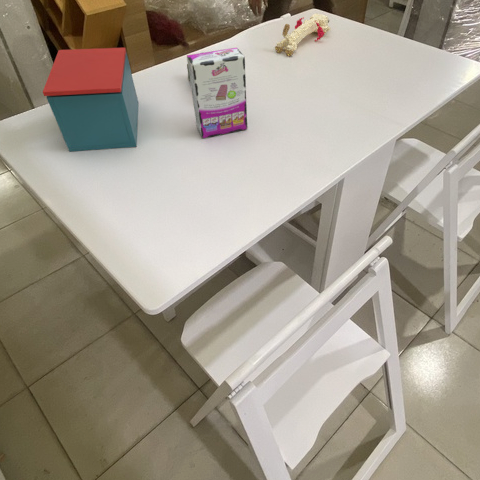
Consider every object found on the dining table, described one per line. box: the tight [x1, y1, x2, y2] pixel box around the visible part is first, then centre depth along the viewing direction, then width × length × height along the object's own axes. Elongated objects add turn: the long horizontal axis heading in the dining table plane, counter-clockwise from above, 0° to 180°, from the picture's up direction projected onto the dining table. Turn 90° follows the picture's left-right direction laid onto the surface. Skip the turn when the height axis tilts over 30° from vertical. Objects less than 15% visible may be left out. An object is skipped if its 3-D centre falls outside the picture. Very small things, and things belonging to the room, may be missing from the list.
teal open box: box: [45, 52, 139, 152], centre depth 88 cm, size 19×14×12 cm
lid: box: [42, 47, 127, 97], centre depth 82 cm, size 20×14×1 cm
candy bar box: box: [186, 47, 248, 139], centre depth 87 cm, size 11×5×16 cm, turn 114°
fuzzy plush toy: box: [274, 12, 332, 58], centre depth 123 cm, size 10×9×25 cm
